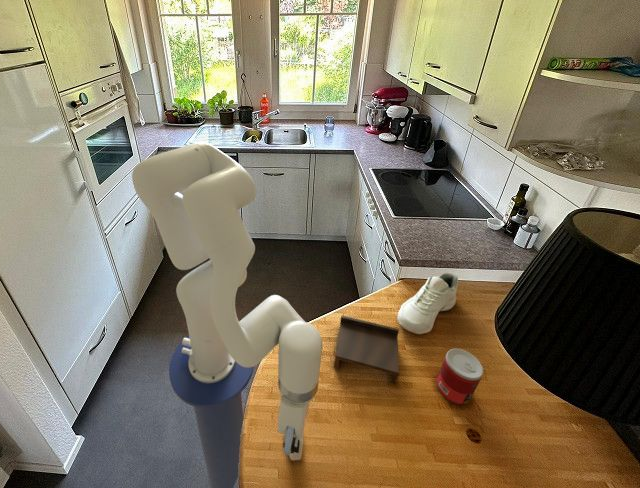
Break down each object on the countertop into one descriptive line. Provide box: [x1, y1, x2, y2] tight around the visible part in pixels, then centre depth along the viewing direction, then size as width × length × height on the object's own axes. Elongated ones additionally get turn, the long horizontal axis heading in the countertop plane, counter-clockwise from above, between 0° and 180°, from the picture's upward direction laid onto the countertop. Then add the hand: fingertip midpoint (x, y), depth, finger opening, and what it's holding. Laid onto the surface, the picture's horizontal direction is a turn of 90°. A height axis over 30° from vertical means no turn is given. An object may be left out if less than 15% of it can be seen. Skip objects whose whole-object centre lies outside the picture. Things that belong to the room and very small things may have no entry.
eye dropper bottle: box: [289, 429, 305, 461], centre depth 69 cm, size 4×6×12 cm
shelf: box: [333, 315, 400, 385], centre depth 89 cm, size 16×12×7 cm
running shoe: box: [396, 272, 459, 335], centre depth 101 cm, size 11×27×14 cm, turn 130°
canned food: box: [436, 348, 484, 405], centre depth 80 cm, size 8×8×11 cm
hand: (295, 429), depth 69 cm, fingers open, 6 cm apart
